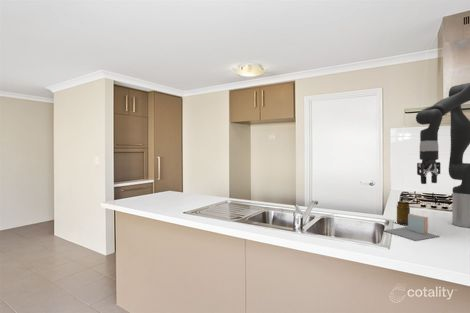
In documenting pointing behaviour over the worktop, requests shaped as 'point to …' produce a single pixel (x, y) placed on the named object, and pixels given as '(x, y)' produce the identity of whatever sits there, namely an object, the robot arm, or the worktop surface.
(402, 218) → the condiment
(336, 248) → the worktop surface
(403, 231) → the mat
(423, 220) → the tile
